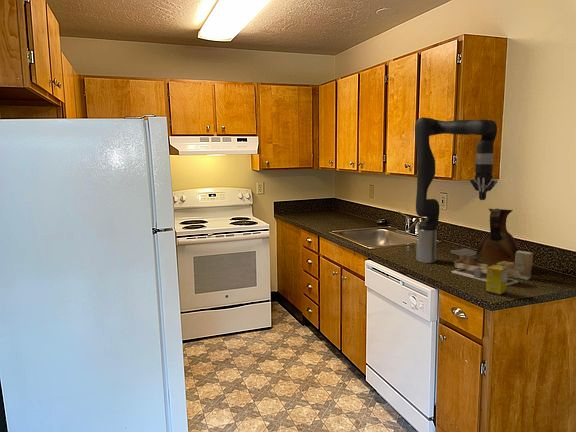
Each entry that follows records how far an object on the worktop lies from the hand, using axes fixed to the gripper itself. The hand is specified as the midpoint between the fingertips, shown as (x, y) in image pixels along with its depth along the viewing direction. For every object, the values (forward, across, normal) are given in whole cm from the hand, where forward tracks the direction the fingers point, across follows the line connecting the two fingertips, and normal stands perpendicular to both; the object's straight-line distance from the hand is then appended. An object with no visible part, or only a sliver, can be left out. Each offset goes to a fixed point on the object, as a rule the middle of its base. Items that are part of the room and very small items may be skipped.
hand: (482, 199), depth 205 cm
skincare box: (+35, +18, +6) cm, 40 cm away
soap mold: (+36, -22, +24) cm, 49 cm away
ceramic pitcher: (+35, +1, +14) cm, 38 cm away
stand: (+35, +7, -7) cm, 36 cm away
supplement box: (+35, +23, -23) cm, 48 cm away
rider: (+31, -2, -7) cm, 32 cm away
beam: (+32, +7, -7) cm, 33 cm away
